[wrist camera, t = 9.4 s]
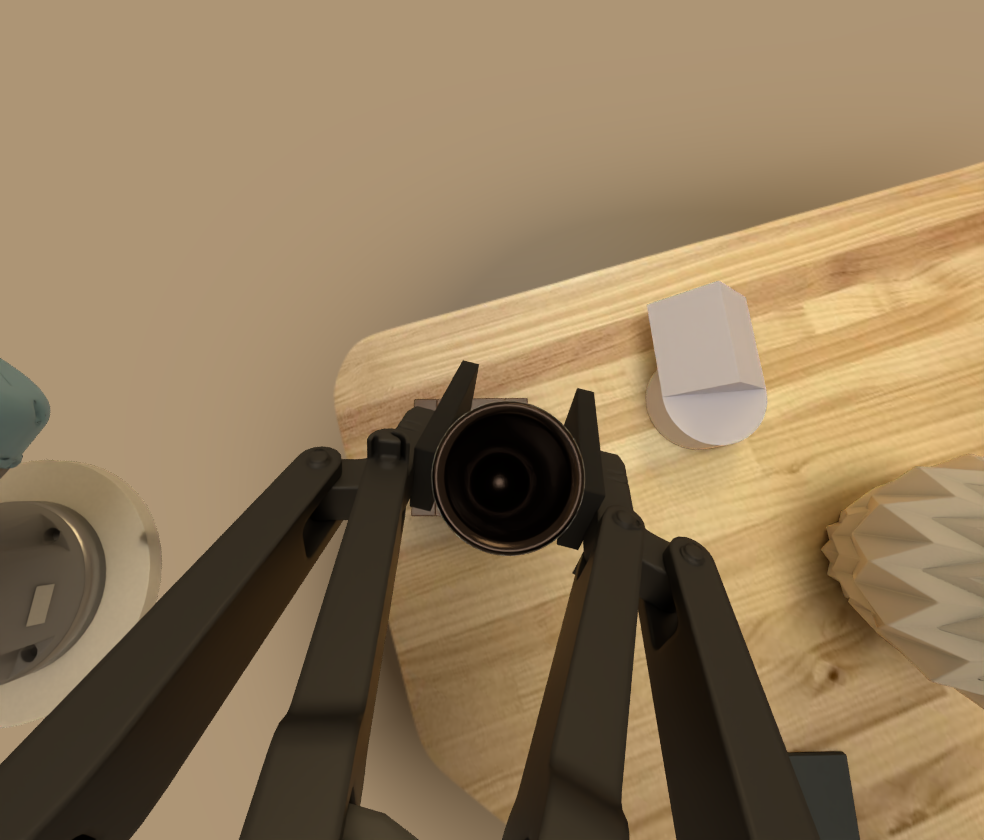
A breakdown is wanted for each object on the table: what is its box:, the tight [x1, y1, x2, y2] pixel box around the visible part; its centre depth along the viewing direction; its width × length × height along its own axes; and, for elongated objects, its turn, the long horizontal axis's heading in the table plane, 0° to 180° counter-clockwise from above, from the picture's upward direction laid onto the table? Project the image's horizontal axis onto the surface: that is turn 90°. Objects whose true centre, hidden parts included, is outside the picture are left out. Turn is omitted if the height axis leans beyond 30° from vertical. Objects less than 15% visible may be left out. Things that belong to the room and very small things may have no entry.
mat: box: [788, 752, 860, 840], centre depth 29 cm, size 10×10×1 cm
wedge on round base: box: [646, 281, 767, 450], centre depth 32 cm, size 9×7×13 cm
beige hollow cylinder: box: [432, 401, 585, 556], centre depth 16 cm, size 4×4×10 cm
